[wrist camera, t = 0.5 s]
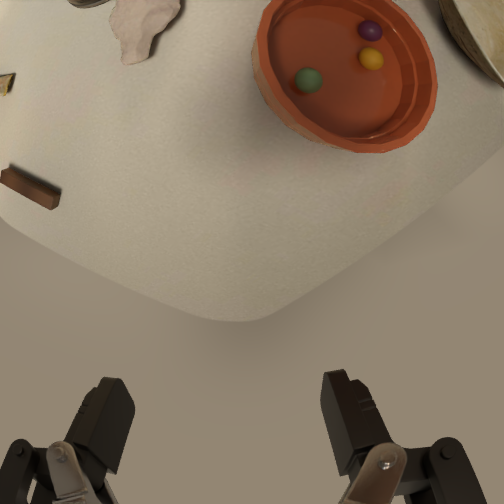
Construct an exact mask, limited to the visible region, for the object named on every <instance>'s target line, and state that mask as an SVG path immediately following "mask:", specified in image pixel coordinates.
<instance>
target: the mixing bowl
mask: <svg viewBox="0 0 504 504" xmlns="http://www.w3.org/2000/svg"><path fill="white" fill-rule="evenodd" d="M365 20H372V21H374V22H376V23H378V24H379V25H380V27H381V28H382V31H383V35H382V37H381V39H380V40H378V41H375V42H370V41H367V40H365V39H363V38H362V37H361V36H360V34H359V32H358V26H359V24H360V23H361V22H362V21H365ZM366 47H372V48H375V49H377V50H378V51H379V52H380V53H381V54H382V56H383V59H384V63H383V65H382V67H381V68H380V69H378V70H369V69H366V68H365V67H363V66H362V65H361V63H360V61H359V53H360V51H361V50H362V49H364V48H366ZM251 56H252V65H253V74H254V79H255V81H256V83H257V85H258V87H259V89H260V92H261V94H262V96H263V98H264V100H265V102H266V104H267V105H268V106H269V107H270V108H271V109H272V110H273V112H274V113H275V114H276V115H277V116H278V117H279V118H280V119H281V120H282V122H283V123H284V124H285V125H286V126H288V127H289V128H291V129H293V130H294V131H296V132H297V133H299V134H300V135H302V136H303V137H305V138H306V139H308V140H310V141H313V142H316V143H320V144H323V145H326V146H329V147H332V148H336V149H341V150H346V151H351V152H356V153H385V152H388V151H391V150H393V149H396V148H399V147H402V146H405V145H407V144H408V143H409V142H410V141H412V140H413V139H414V138H415V137H416V136H417V135H418V134H419V133H421V132H422V131H423V130H424V128H425V126H426V124H427V123H428V121H429V119H430V117H431V115H432V113H433V111H434V108H435V102H436V95H437V88H438V86H437V85H438V84H437V76H436V69H435V63H434V59H433V57H432V54H431V52H430V49H429V47H428V45H427V42H426V40H425V38H424V36H423V34H422V33H421V31H420V30H419V29H418V27H417V26H416V25H415V23H414V22H413V21H412V19H411V18H410V17H409V16H408V14H407V13H406V12H404V11H403V10H402V9H401V8H400V7H399V6H397V5H396V4H395V3H394V2H393V1H391V0H272V1H271V2H270V3H269V5H268V6H267V7H266V8H265V9H264V11H263V14H262V17H261V20H260V23H259V26H258V29H257V33H256V36H255V40H254V44H253V47H252V51H251ZM306 67H309V68H313V69H315V70H317V71H318V72H319V73H320V74H321V76H322V79H323V84H322V86H321V88H320V89H319V90H318V91H317V92H315V93H304V92H302V91H300V90H299V89H298V88H297V87H296V85H295V82H294V77H295V74H296V73H297V72H298V71H299V70H300V69H302V68H306Z"/></svg>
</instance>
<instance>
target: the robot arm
mask: <svg viewBox="0 0 504 504" xmlns="http://www.w3.org/2000/svg"><path fill="white" fill-rule="evenodd" d="M67 1H69V3H70V4H72V5H73V6H75V7H78V8H90V7H94V6H97V5H100V4H103V3H105V2H107V1H109V0H67ZM320 401H321V409H322V413H323V416H324V420H325V423H326V427H327V431H328V434H329V438H330V442H331V445H332V448H333V452H334V456H335V460H336V464H337V467H338V471H339V475H340V476H344V475H349V479H350V484H349V485H348V487H347V489H346V491H345V492H344V494H343V496H342V498H341V499H340V501H339V503H338V504H390V503H391V502H392V499H393V497H394V496H398V495H404V499H405V502H406V504H487V502H486V499H485V497H484V494H483V492H482V489H481V487H480V484H479V482H478V479H477V477H476V475H475V472H474V470H473V468H472V466H471V463H470V461H469V459H468V457H467V455H466V453H465V450H464V448H463V446H462V444H461V443H460V442H459V441H458V440H456V439H455V438H451V437H445V438H441V439H439V440H437V441H436V442H435V443H434V444H433V445H432V446H431V447H423V448H413V449H408V448H403V447H401V446H400V445H398V444H396V443H394V442H393V440H392V439H391V437H390V435H389V433H388V431H387V428H386V426H385V424H384V422H383V420H382V417H381V415H380V413H379V411H378V409H377V408H376V404H375V402H374V400H372V396H371V394H370V392H369V390H368V388H367V387H366V386H365V385H364V384H363V383H362V382H361V381H359V380H358V379H357V380H352V381H350V380H349V378H348V376H347V373H346V371H345V370H344V369H340V370H336V371H330V372H325V373H324V376H323V383H322V390H321V399H320ZM134 415H135V405H134V402H133V400H132V398H131V396H130V394H129V393H128V390H127V388H126V386H125V384H124V382H123V381H122V380H121V379H119V378H110V377H103V378H102V379H101V381H100V383H99V385H98V387H97V388H96V387H94V388H93V389H92V390H91V391H90V392H89V393H88V394H87V395H86V396H85V398H84V400H83V402H82V406H80V408H79V410H78V413H77V414H76V416H75V418H74V420H73V422H72V424H71V426H70V429H69V431H68V433H67V435H66V437H65V439H64V440H63V441H58V442H55V443H53V444H52V445H51V446H49V448H35V447H33V446H32V445H31V444H30V443H29V442H28V441H26V440H24V439H18V440H15V441H14V442H13V443H12V444H11V446H10V448H9V450H8V452H7V454H6V457H5V459H4V462H3V464H2V466H1V469H0V504H28V502H27V495H28V491H29V488H30V485H31V482H32V479H34V480H35V481H37V483H36V487H35V490H34V493H33V496H32V500H31V503H30V504H118V502H117V500H116V498H115V496H114V494H113V492H112V490H111V488H110V486H109V484H108V481H107V480H106V478H105V476H106V472H107V473H112V474H115V475H116V474H117V470H118V466H119V463H120V459H121V456H122V453H123V450H124V446H125V443H126V440H127V436H128V433H129V430H130V427H131V424H132V421H133V418H134Z"/></svg>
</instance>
